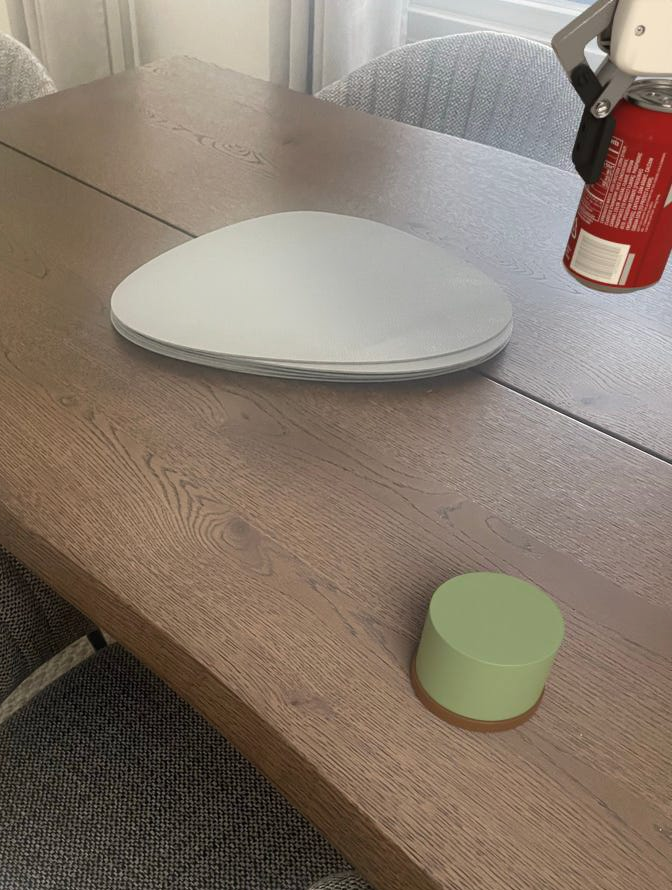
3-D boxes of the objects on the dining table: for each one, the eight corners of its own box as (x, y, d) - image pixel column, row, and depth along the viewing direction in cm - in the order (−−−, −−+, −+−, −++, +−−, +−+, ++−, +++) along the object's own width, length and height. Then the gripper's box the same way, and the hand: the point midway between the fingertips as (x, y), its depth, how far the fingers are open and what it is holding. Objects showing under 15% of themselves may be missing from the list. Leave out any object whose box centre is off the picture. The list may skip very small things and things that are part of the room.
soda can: (612, 309, 66) (678, 119, 57) (539, 270, 70) (590, 86, 61) (678, 284, 68) (750, 99, 59) (604, 248, 72) (661, 68, 63)
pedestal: (522, 633, 71) (545, 567, 66) (557, 731, 65) (586, 666, 60) (399, 636, 70) (414, 570, 66) (423, 734, 64) (442, 670, 60)
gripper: (616, -164, 48) (524, 200, 61) (961, -162, 48) (797, 200, 61) (574, -186, 53) (497, 154, 66) (886, -184, 53) (749, 155, 66)
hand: (642, 174), depth 64 cm, fingers closed on soda can, 6 cm apart
